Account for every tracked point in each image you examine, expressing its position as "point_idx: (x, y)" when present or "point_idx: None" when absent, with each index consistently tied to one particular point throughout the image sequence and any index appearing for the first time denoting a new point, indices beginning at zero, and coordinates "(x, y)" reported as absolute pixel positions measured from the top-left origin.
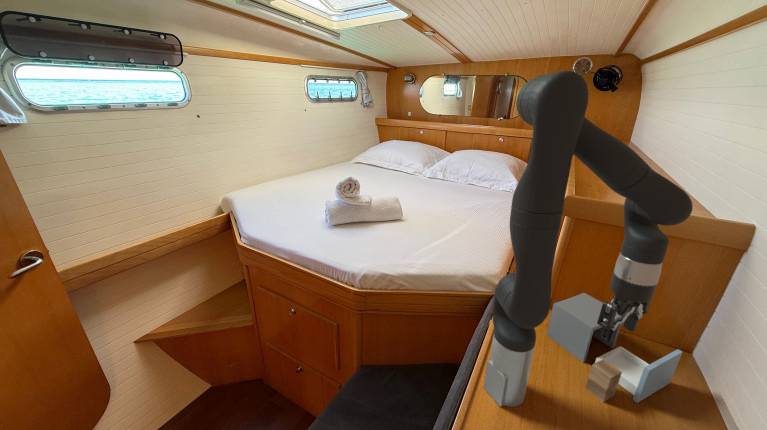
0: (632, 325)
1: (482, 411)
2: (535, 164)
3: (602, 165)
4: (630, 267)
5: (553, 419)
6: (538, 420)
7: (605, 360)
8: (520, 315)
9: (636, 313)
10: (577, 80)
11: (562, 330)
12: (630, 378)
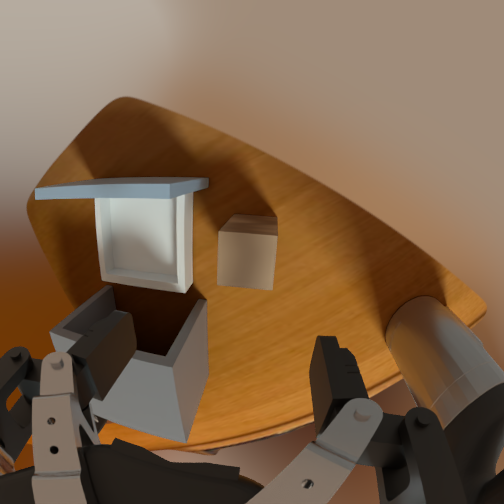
0: (114, 339)
1: (466, 311)
2: None
3: None
4: None
5: (405, 247)
6: (426, 259)
7: (218, 279)
8: None
9: (77, 410)
10: None
11: (197, 378)
12: (157, 220)
